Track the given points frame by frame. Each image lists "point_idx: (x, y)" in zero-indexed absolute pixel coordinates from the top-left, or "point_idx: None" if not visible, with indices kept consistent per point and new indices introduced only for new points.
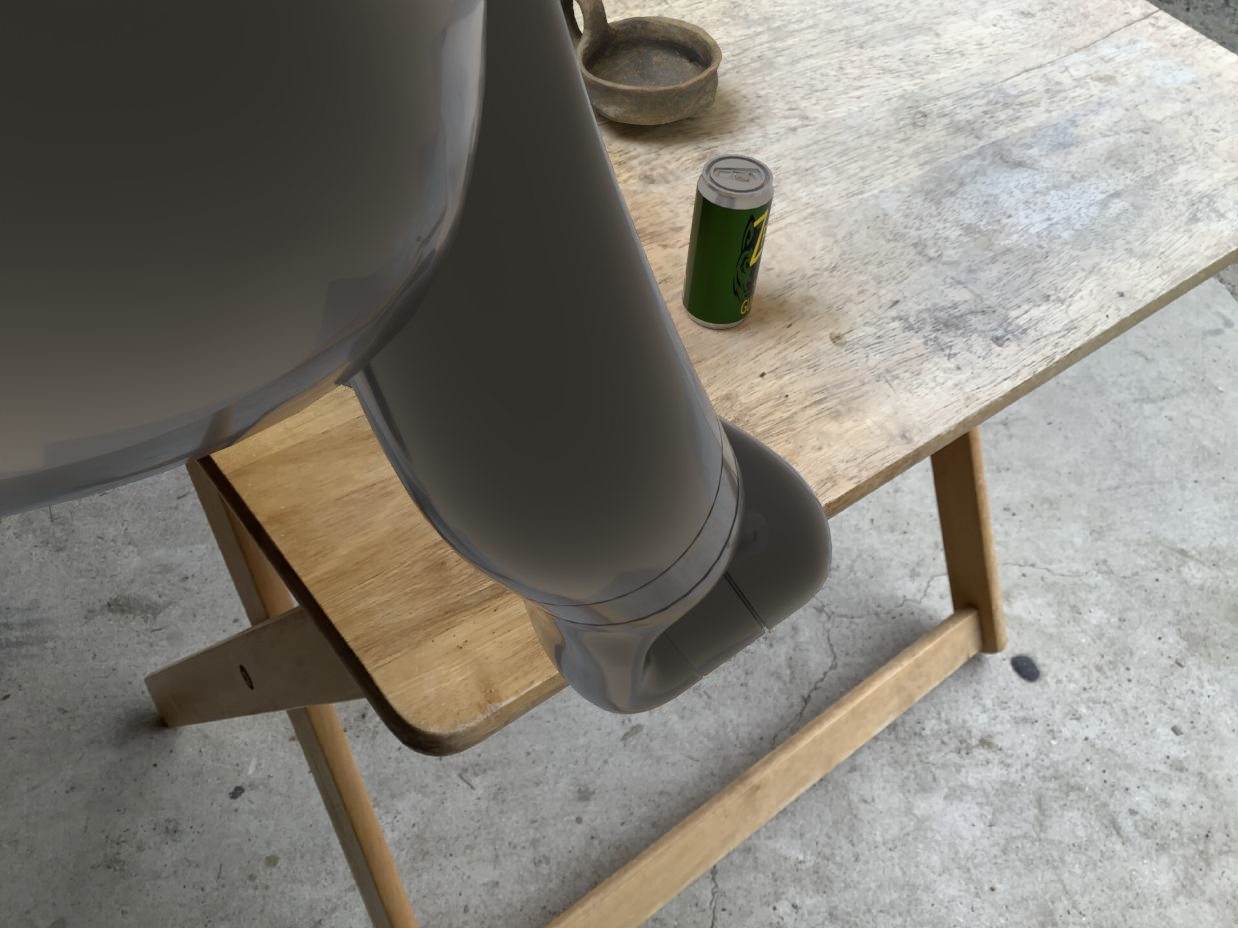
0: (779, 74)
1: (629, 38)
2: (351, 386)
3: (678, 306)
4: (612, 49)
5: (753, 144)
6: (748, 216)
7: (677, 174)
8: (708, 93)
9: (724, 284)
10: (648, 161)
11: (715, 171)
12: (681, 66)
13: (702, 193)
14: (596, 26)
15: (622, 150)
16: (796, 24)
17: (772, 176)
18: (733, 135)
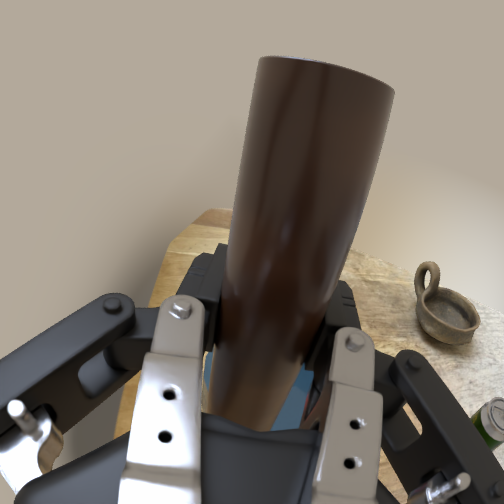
0: (487, 334)
1: (442, 296)
2: None
3: None
4: (434, 298)
5: (476, 366)
6: (497, 444)
7: (444, 371)
8: (470, 337)
9: None
10: (434, 359)
11: (493, 408)
12: (458, 317)
13: (482, 421)
14: (434, 286)
15: (424, 348)
16: (493, 314)
17: None
18: (469, 358)
